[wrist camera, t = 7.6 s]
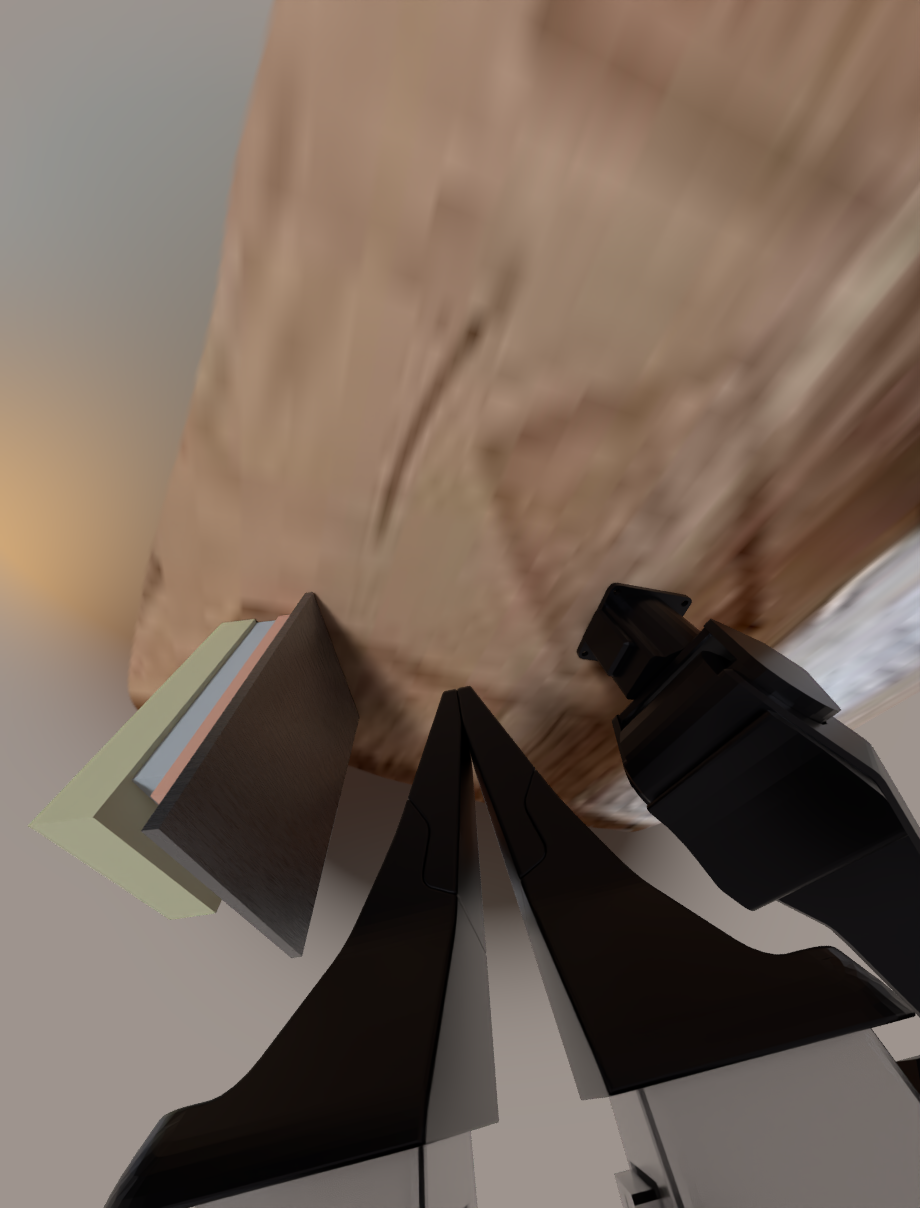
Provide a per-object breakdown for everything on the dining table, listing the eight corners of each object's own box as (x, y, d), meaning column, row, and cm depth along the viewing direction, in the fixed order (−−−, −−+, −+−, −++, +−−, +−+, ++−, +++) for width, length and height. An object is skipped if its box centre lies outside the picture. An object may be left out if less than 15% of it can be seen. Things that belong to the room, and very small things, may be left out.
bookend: (312, 592, 21) (158, 828, 9) (359, 717, 28) (301, 956, 16) (305, 593, 21) (140, 831, 9) (353, 718, 28) (291, 957, 16)
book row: (308, 612, 22) (198, 802, 12) (345, 705, 27) (290, 902, 16) (221, 623, 22) (27, 825, 11) (273, 714, 27) (170, 919, 16)
